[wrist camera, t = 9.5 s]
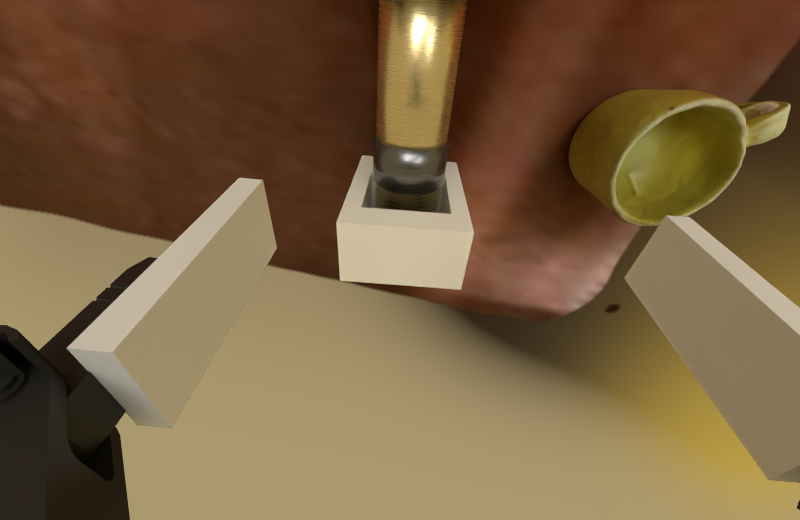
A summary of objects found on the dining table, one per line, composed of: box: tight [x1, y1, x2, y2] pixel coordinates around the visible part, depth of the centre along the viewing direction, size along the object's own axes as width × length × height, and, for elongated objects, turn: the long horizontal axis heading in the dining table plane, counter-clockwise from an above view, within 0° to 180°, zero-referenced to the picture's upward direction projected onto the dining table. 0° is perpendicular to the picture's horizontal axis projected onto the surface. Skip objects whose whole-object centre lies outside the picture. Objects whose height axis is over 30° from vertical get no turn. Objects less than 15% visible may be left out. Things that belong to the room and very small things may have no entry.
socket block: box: [336, 155, 474, 290], centre depth 28 cm, size 5×9×12 cm, turn 86°
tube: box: [373, 0, 467, 213], centre depth 22 cm, size 17×5×5 cm, turn 176°
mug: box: [568, 89, 790, 226], centre depth 26 cm, size 12×10×10 cm
